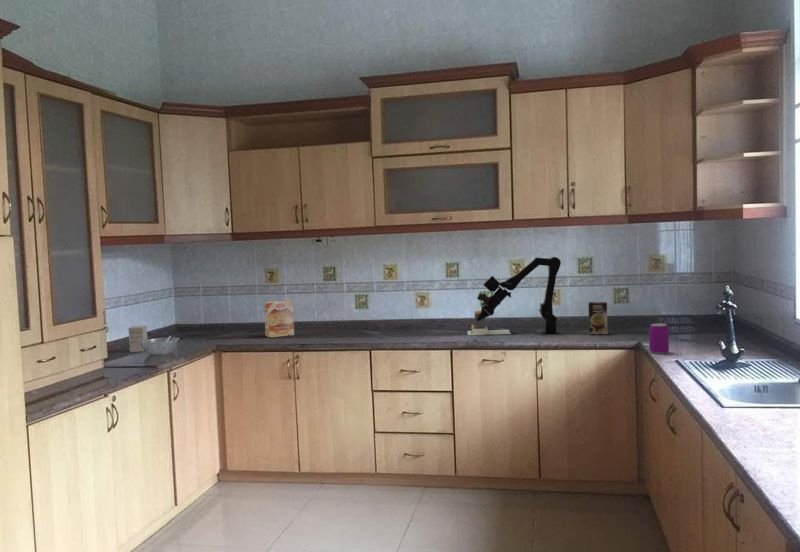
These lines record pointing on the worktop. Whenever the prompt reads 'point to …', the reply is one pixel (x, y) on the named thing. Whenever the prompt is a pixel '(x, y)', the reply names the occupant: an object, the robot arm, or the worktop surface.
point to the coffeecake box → (279, 318)
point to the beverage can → (659, 338)
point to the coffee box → (597, 317)
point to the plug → (480, 323)
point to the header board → (486, 331)
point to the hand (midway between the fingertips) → (476, 319)
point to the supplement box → (137, 337)
